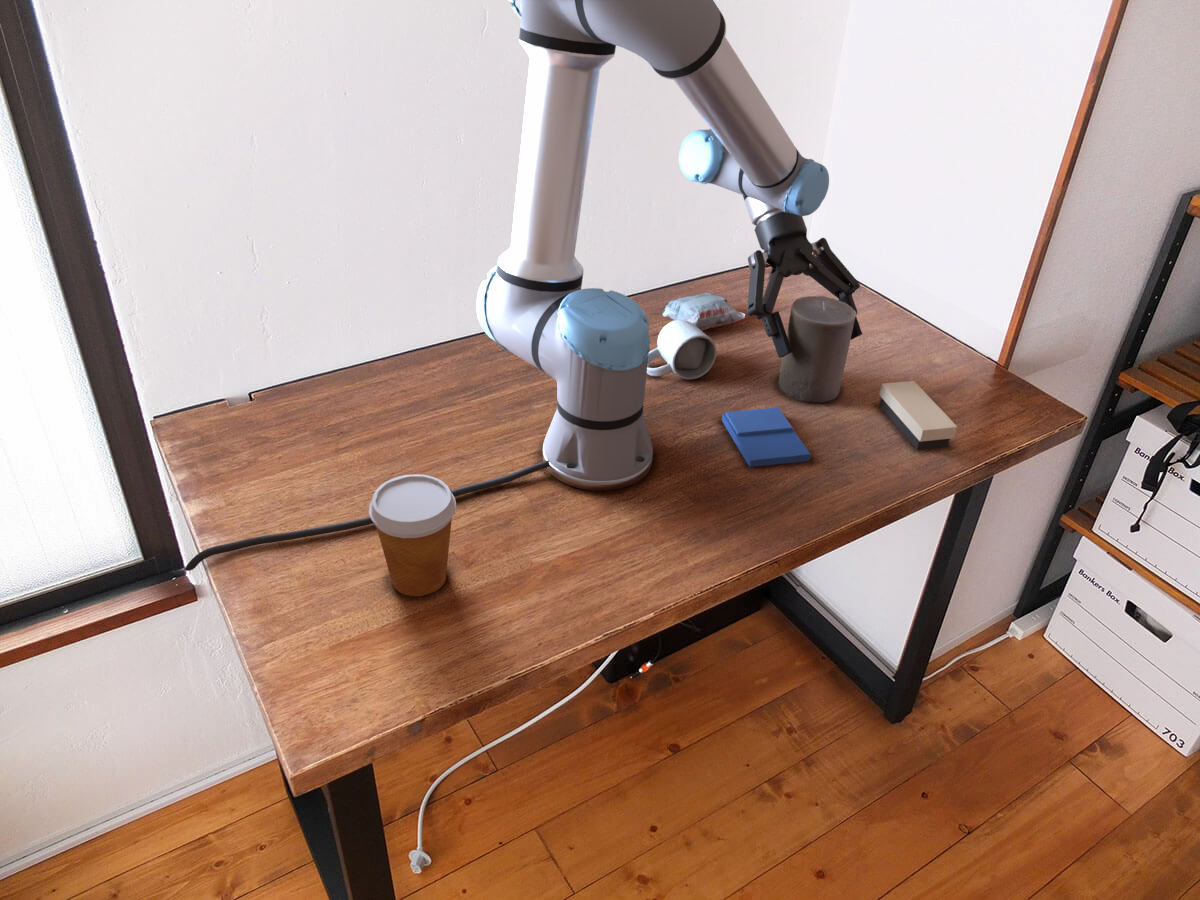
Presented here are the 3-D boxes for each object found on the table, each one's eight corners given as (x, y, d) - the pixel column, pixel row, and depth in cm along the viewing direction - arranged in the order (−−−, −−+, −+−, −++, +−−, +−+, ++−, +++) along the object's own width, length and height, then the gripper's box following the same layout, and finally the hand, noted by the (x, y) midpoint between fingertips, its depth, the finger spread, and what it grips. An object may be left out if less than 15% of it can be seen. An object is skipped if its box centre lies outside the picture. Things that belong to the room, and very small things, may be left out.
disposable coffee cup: (463, 551, 116) (459, 472, 109) (456, 607, 108) (451, 525, 101) (384, 550, 115) (375, 470, 109) (371, 606, 108) (360, 524, 101)
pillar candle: (782, 401, 147) (797, 314, 139) (774, 370, 155) (788, 285, 147) (844, 405, 147) (864, 318, 139) (834, 373, 155) (851, 289, 147)
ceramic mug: (692, 352, 159) (696, 310, 155) (714, 375, 153) (719, 333, 148) (634, 362, 156) (636, 320, 151) (654, 387, 150) (657, 344, 145)
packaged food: (743, 329, 167) (746, 303, 164) (686, 342, 162) (688, 316, 159) (714, 309, 173) (717, 284, 170) (659, 321, 168) (661, 296, 165)
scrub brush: (916, 452, 138) (923, 430, 136) (876, 404, 148) (881, 383, 146) (951, 448, 139) (957, 426, 137) (908, 401, 149) (914, 380, 147)
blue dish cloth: (749, 467, 133) (751, 457, 132) (721, 420, 142) (723, 410, 141) (809, 461, 135) (811, 451, 134) (778, 415, 144) (779, 405, 143)
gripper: (825, 217, 157) (868, 337, 155) (698, 240, 147) (742, 369, 145) (852, 196, 150) (898, 322, 148) (721, 219, 140) (768, 355, 138)
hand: (821, 346), depth 146 cm, fingers open, 13 cm apart
